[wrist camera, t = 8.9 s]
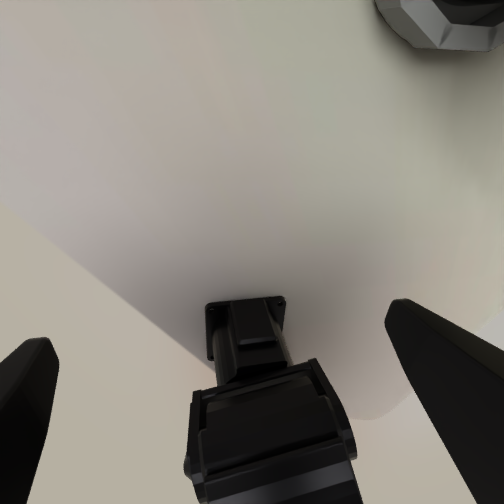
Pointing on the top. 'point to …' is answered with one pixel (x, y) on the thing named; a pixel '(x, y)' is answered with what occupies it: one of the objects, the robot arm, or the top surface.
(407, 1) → the ring seat
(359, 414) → the top surface
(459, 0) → the supplement bottle
